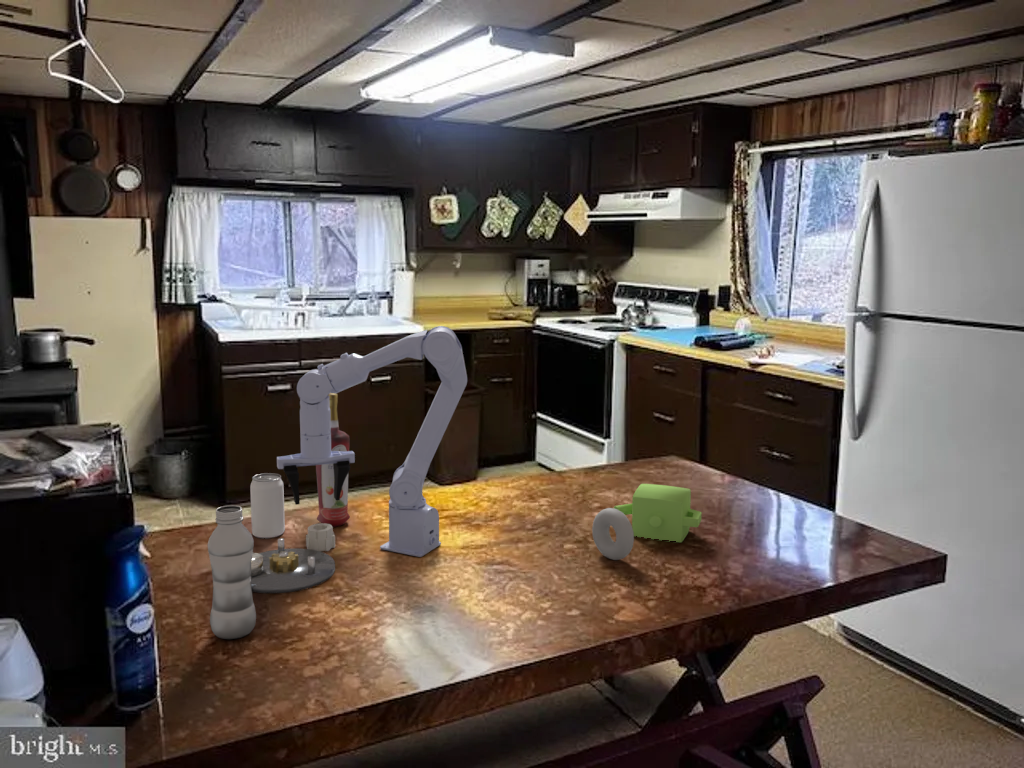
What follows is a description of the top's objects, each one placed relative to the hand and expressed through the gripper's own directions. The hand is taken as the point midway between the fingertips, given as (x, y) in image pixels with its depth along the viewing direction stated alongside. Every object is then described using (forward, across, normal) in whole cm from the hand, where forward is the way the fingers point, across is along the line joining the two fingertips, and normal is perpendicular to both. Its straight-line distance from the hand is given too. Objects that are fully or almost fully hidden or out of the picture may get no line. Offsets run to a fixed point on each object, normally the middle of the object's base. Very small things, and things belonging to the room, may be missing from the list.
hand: (317, 500), depth 159 cm
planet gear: (+10, 0, 0) cm, 10 cm away
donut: (+10, -52, +25) cm, 58 cm away
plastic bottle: (+10, +18, +32) cm, 38 cm away
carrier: (+10, +9, +10) cm, 17 cm away
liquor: (+10, -5, -12) cm, 17 cm away
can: (+10, +8, -11) cm, 17 cm away
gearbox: (+10, -67, +17) cm, 70 cm away
